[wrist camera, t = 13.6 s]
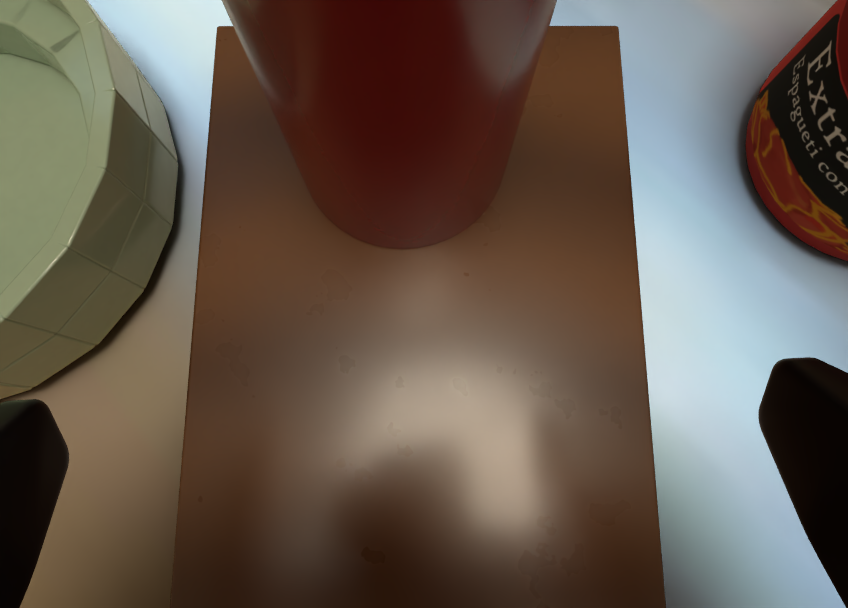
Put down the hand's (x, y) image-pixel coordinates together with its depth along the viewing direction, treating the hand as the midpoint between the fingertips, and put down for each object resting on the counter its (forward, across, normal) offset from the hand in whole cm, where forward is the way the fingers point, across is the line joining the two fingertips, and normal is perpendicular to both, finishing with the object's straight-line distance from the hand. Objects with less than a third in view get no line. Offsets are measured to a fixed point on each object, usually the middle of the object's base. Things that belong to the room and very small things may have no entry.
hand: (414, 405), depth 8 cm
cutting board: (+8, 0, +6) cm, 10 cm away
